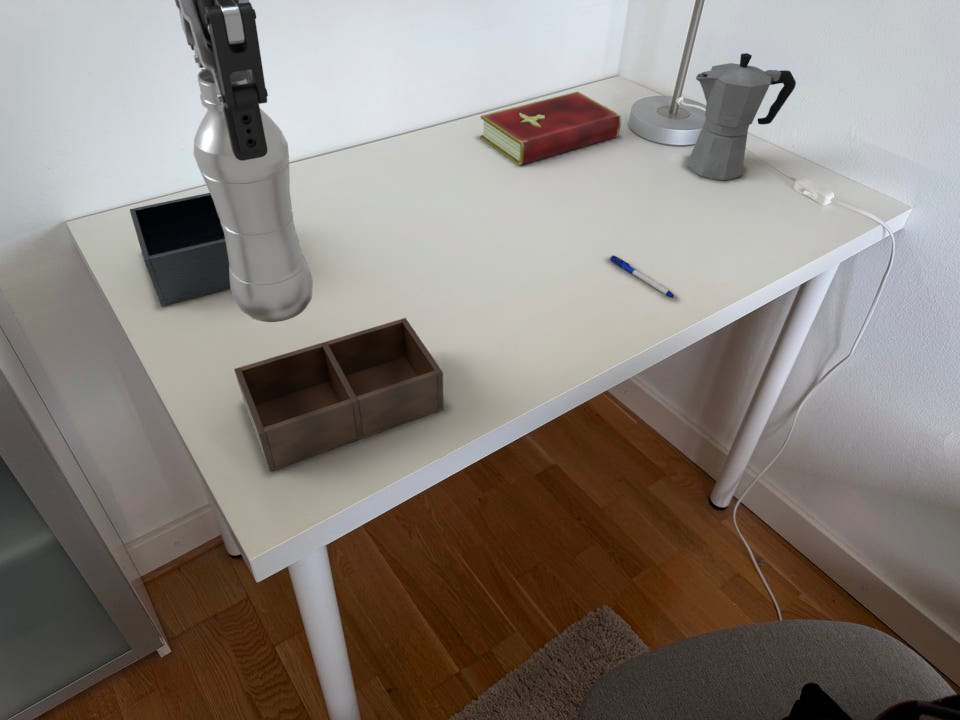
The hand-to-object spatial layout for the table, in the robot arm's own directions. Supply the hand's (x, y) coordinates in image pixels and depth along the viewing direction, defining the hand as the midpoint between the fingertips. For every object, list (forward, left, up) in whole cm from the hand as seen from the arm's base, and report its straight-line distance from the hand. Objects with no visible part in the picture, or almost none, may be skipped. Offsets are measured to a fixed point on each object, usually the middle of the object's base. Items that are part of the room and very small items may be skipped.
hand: (239, 136), depth 49 cm
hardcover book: (+57, +45, -31) cm, 79 cm away
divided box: (+4, 0, -30) cm, 31 cm away
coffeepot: (+77, +24, -31) cm, 87 cm away
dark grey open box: (-4, +32, -30) cm, 44 cm away
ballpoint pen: (+47, +5, -31) cm, 56 cm away
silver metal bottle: (0, 0, -16) cm, 16 cm away
